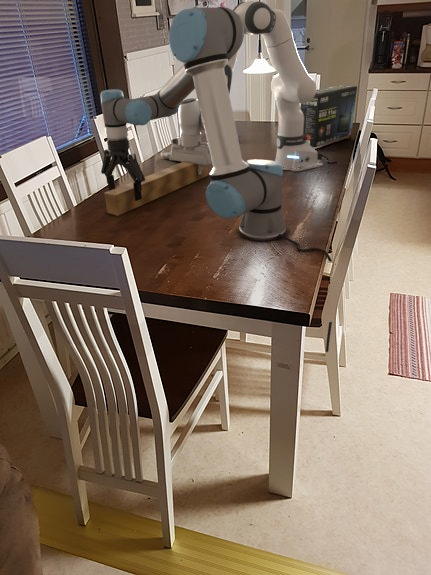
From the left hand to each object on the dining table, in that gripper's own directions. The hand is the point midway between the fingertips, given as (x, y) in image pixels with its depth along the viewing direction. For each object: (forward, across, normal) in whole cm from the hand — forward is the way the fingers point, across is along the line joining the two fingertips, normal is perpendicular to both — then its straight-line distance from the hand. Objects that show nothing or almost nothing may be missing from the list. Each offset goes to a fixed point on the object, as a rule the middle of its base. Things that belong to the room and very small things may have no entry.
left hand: (125, 196), depth 171 cm
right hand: (+2, 0, -40) cm, 40 cm away
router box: (+4, -24, -123) cm, 126 cm away
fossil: (+5, +27, -62) cm, 68 cm away
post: (+4, 0, -20) cm, 21 cm away
